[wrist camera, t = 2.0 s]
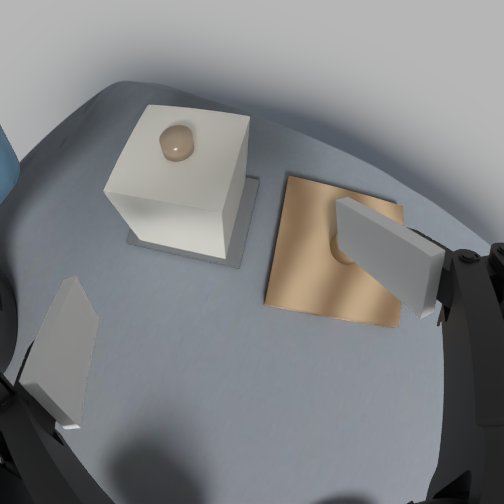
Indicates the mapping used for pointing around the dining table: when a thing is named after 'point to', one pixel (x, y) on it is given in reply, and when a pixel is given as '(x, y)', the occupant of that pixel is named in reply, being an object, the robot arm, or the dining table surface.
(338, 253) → the cork
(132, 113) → the dining table surface
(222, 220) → the knobbed white box
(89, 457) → the dining table surface
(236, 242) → the mat
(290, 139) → the dining table surface
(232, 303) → the dining table surface
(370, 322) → the board
